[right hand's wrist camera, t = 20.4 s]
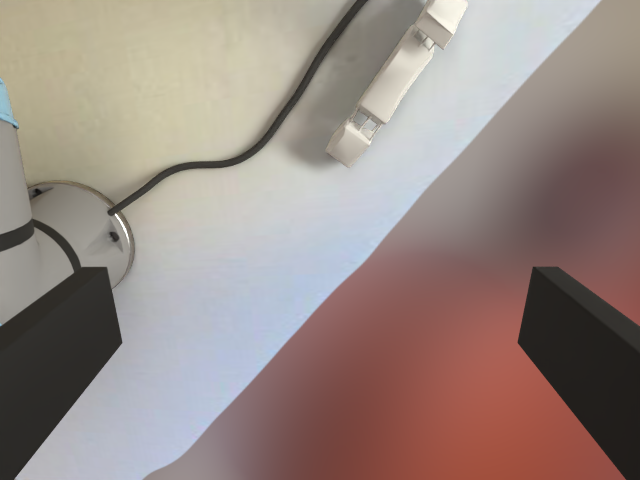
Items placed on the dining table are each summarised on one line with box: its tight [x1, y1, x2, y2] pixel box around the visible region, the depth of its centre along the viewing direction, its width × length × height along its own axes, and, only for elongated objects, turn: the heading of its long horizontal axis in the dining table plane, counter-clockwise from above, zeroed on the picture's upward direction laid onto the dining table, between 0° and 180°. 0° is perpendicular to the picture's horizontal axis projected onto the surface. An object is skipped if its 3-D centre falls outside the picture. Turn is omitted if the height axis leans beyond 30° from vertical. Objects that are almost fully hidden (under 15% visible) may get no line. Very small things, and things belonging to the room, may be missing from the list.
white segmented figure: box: [325, 0, 468, 168], centre depth 41 cm, size 20×4×7 cm, turn 145°
